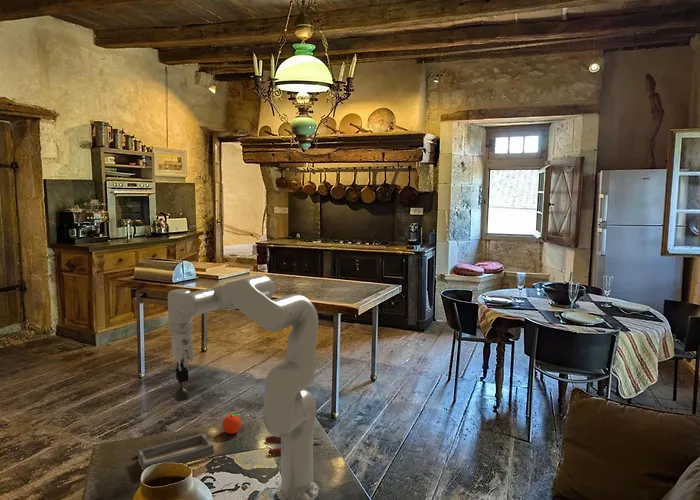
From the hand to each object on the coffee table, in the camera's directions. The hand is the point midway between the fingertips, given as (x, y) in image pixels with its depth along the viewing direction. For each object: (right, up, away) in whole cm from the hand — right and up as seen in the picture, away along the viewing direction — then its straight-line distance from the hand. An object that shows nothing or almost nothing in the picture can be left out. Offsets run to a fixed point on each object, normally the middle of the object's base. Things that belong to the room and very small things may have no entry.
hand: (182, 380), depth 165 cm
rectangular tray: (-3, -27, +2) cm, 28 cm away
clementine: (+12, -26, +21) cm, 35 cm away
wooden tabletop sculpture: (0, -6, 0) cm, 6 cm away
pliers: (+36, -27, +10) cm, 46 cm away
